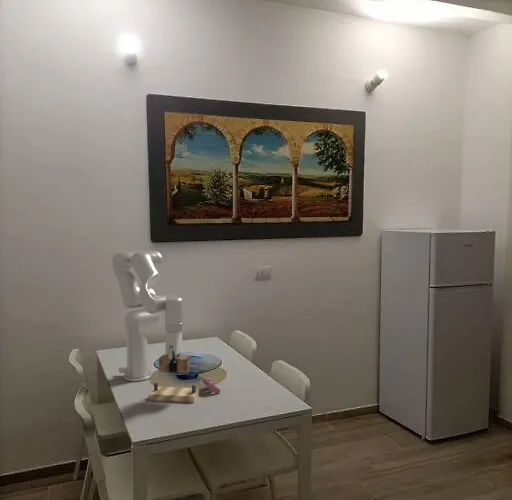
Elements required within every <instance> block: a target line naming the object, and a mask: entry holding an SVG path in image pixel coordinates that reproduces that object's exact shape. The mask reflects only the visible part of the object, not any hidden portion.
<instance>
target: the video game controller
mask: <svg viewBox="0 0 512 500" xmlns="http://www.w3.org/2000/svg"><path fill="white" fill-rule="evenodd" d="M202 385H205V386H206V388H207V389H208V391H209V392H210V393H214V394H220V393H221V389H220V388H219V387H218V386H217V385H216V384H215V381H213V379H212V378H211V377H208V376H205V377H204V378H202Z"/></svg>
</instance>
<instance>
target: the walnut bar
mask: <svg viewBox="0 0 512 500" xmlns="http://www.w3.org/2000/svg"><path fill="white" fill-rule="evenodd" d="M168 356H169V354H168V355H167V356H166V354H165V353H164V354H162V355H161V356H160V357H158V359H159V360H158V365H159V366H158V368H159V370H158V371H159V373H170V374H172V373H173V374H189V372H191V368H192V367H191V364H192V361H191V358H192V357H191V355H183V354H181V355H176V362H177V372H169V358H168ZM172 357H173V356H172ZM173 358H174V357H173Z"/></svg>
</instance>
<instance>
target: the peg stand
mask: <svg viewBox="0 0 512 500" xmlns="http://www.w3.org/2000/svg"><path fill="white" fill-rule="evenodd" d="M199 395H200V388H199V387H197V385H196V384H191V387H179V386H178V387H176V386H159V383H158V382H154V383H153V389H152V391H150V393H149V401H160V402H161V401H162V402H179V403H181V402H182V403H195V402H196V401H197V399H198V397H199Z"/></svg>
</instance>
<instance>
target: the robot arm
mask: <svg viewBox="0 0 512 500" xmlns="http://www.w3.org/2000/svg"><path fill="white" fill-rule="evenodd" d="M163 263H164V260H163V256H162V254H161V253H160V252H159V251H158V250H151V249H149V250H148V249H139V250H138V249H137V250H124V251H123V250H122V251H119V252H116V253H114V254H113V256H112V258H111V267H112V271H113V273H114V275H115V277H116V280H117V282H118V286H119V291H120V294H121V295H120V296H121V300H122V303H123V305H124V307H125V308H126V309H128V310H130V309H133V311H130V312H127V313H126V314H125V315H124V318H123V325H124V330H125V337H126V339H125V340H126V341H125V342H126V343H125V344H126V367H122V366H120V367H119V368H118V372H119V373H122V374H123V373H124V374H123V379H124V380H125V381H127V382H128V381H129V382H143V381H145V380H148V379H150V378H151V377H152V373H151V372H150V371H149V369H148V367H149V366H148V360H149V359H148V338H147V337H146V335H145V334H144V332H143V331H147V330H151V329H156V328H158V327H160V326H161V324H162V313H164V316H165V317H164V320H165V322H164V324H165V329H164V330H165V333H166V335H165V351H164V352H165V353H164V354H166V356H167V355H169V356H168V358H169V372H177V362H176V355H182V354H181V352H182V351H183V331H184V329H185V328H184V299H183V297H180V296H176V295H174V294H171V293H168V294H158V295H157V294H156V292H155V290H154V289H153V288H152V287H153V286H154V285H156V284H157V283H158V282H159V280H160V278H161V275H160V273H159V271H158V269H159V268H161V267H162V266H163ZM129 269H134V271H135V273H136V275H137V276H135V274H134V273H133V272H132V271H131V270H129ZM137 277H138V279H139V281H140V282H141V283H140V286H139V283H138V280H137ZM140 308H143V309H140ZM134 309H136V310H134ZM137 309H138V310H137ZM172 356H173V357H174V358H173V357H172ZM169 372H168V373H169Z"/></svg>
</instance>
